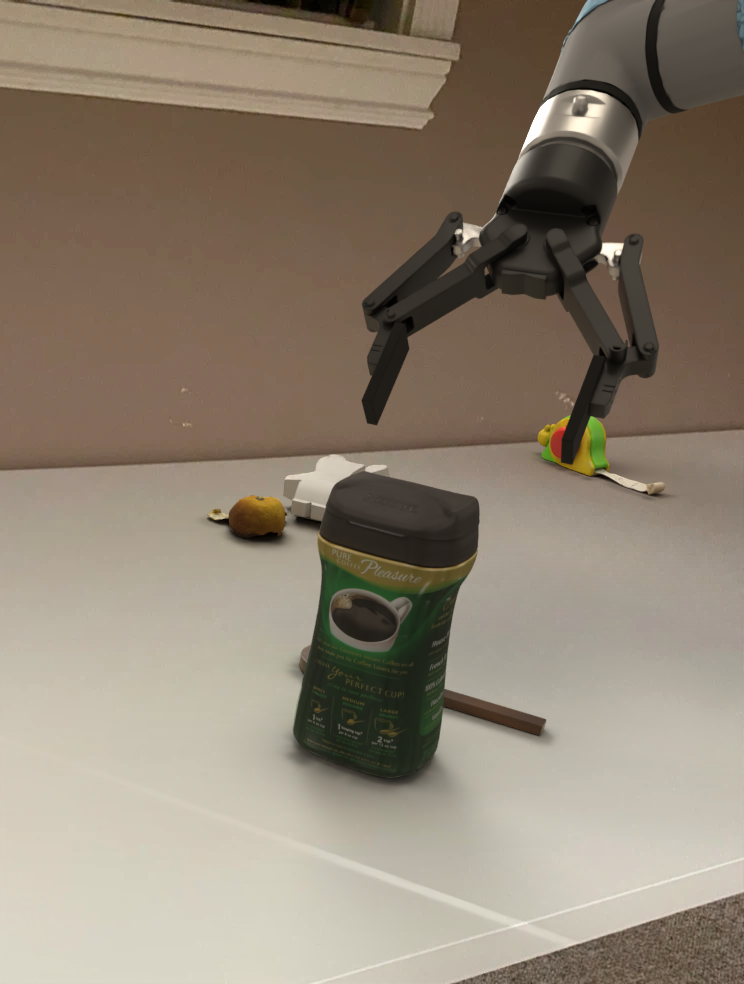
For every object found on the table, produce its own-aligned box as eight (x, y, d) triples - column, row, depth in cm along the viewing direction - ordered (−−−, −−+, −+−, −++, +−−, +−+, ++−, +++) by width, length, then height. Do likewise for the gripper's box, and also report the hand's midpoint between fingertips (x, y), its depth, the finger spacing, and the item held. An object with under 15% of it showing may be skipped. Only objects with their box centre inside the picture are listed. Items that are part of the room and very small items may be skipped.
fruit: (279, 514, 118) (283, 480, 116) (304, 542, 111) (308, 507, 109) (204, 514, 116) (207, 480, 114) (224, 542, 109) (227, 507, 107)
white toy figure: (268, 479, 114) (323, 434, 125) (265, 524, 117) (319, 477, 128) (353, 499, 111) (402, 451, 122) (348, 545, 114) (396, 494, 125)
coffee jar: (449, 747, 76) (506, 487, 67) (405, 796, 70) (462, 518, 61) (324, 703, 81) (363, 453, 72) (273, 746, 75) (308, 479, 66)
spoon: (550, 718, 82) (553, 706, 81) (533, 747, 77) (536, 734, 77) (315, 648, 89) (316, 636, 88) (288, 671, 85) (289, 659, 84)
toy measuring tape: (551, 450, 151) (562, 402, 148) (673, 493, 138) (688, 440, 134) (520, 455, 148) (531, 405, 145) (641, 498, 134) (657, 445, 131)
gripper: (393, 121, 79) (283, 365, 75) (764, 155, 70) (664, 436, 65) (404, 201, 86) (304, 428, 81) (744, 241, 77) (652, 501, 72)
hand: (464, 432), depth 73 cm, fingers open, 13 cm apart
